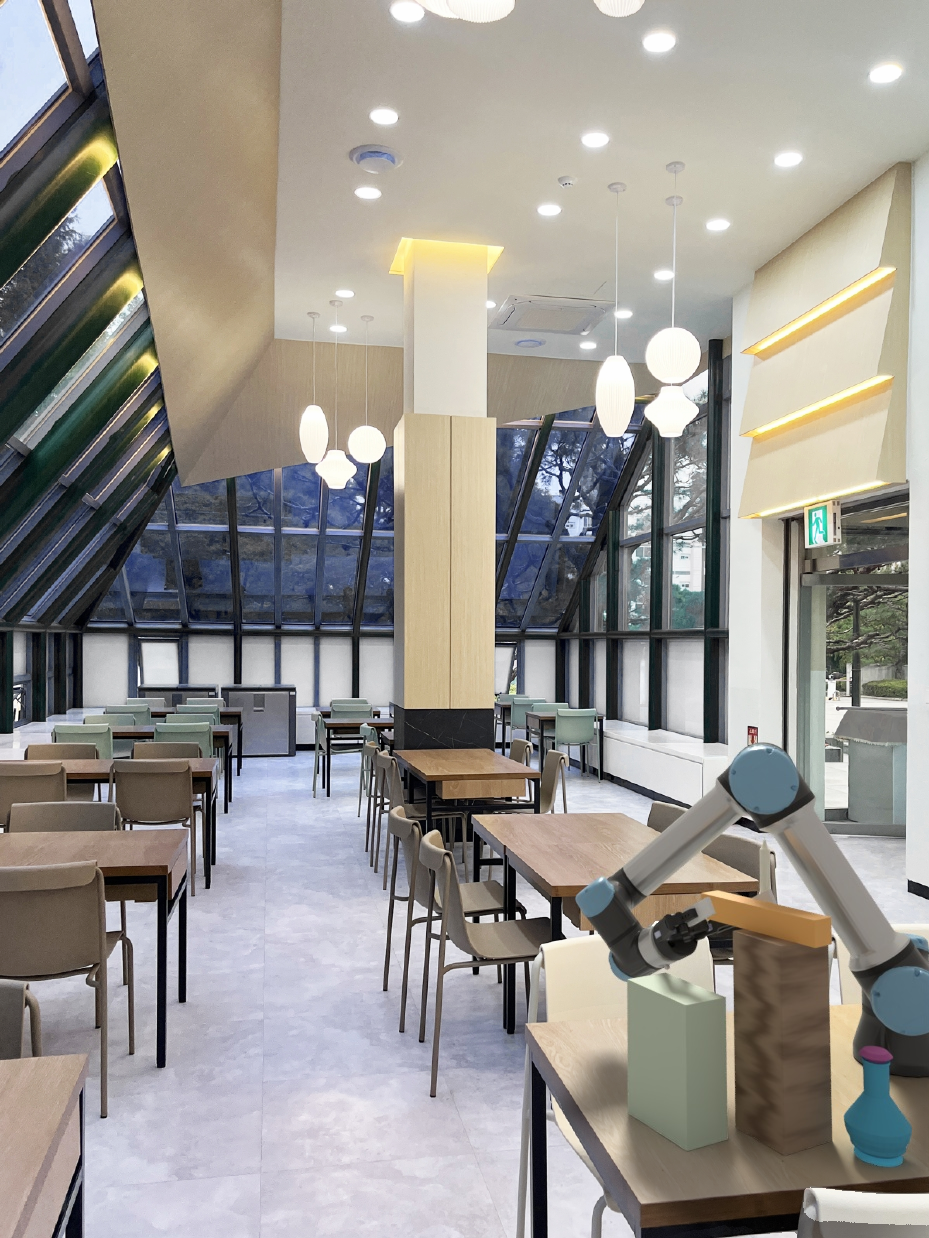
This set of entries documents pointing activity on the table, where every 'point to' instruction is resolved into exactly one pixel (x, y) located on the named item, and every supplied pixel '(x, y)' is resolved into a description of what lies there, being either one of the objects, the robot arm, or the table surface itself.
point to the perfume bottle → (877, 1114)
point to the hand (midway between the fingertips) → (742, 900)
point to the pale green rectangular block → (677, 1059)
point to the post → (781, 1041)
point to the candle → (764, 867)
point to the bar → (771, 919)
